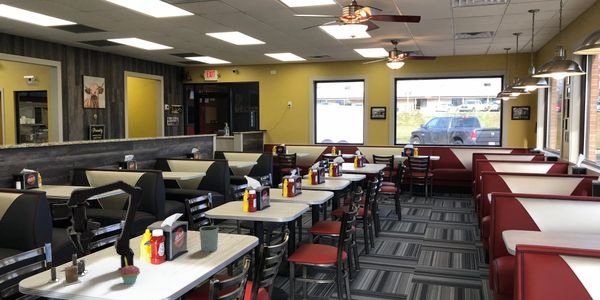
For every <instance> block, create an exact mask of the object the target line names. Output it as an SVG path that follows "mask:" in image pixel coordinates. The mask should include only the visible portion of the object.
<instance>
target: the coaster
mask: <svg viewBox="0 0 600 300" xmlns="http://www.w3.org/2000/svg"><path fill="white" fill-rule="evenodd" d="M62 283H63V284H64V285H65V286H72V285H76V284H79V283H82V281H81V279H79V278H78V281H76V282H72V283H67V282H66V280H63V281H62Z"/></svg>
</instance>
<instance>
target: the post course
mask: <svg viewBox="0 0 600 300" xmlns="http://www.w3.org/2000/svg"><path fill="white" fill-rule="evenodd" d="M71 256H72V257H71V260H72V263H71V264H72V265H71V264H70V266H76V267H77V270H78V278H80V277H85V276H86V274H88V270H86V264H85V263H86V262H85V259H84V258H82V259H80V260H79V261H78V260H77V258H78V257H77V253H73V254H71ZM59 281H60V279H59V278H57V267H55V266H53V267H51V268H50V279H49V280H48V283H50V284H53V283H57V282H59Z"/></svg>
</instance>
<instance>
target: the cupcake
mask: <svg viewBox="0 0 600 300" xmlns="http://www.w3.org/2000/svg"><path fill="white" fill-rule="evenodd" d="M125 264H126V266H125V267H124V268H122V269H121V270H119V274H118V276H119V277H121V278H122V281H123V283H124V284H125V285H132V283H133V284H135V283H136V282H137V279H138V276H139V275H140V273H141V270H140V268H139V266H136V265H132V266H128V265H127V260H126V258H125Z"/></svg>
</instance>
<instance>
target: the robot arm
mask: <svg viewBox="0 0 600 300" xmlns="http://www.w3.org/2000/svg"><path fill="white" fill-rule="evenodd" d="M117 190H118V191H119V190H121V191H122V192H124V193H126V194H128V207H127V212H126V215H125V218H124V222H123V226H122V230H121V233H120V234H119V236H115V242H114V244H113V247H114V249H115V253H116V254H117V255H118V256H120V267H118V270H119V271H120V270H121V269H122V268H124V267H125V266H126V264H125V258H126V260H127V265H128V266H132V265H134V261H135V260H134V256H135V253H134V251H133V248H131V247H130V244H131V242H130V241H131V232H132V231H133V226H134V222H135V219H136V216H137V215H136V214H137V211H138V207H139V206H140V204H141V203H142V201H143V198H144V196H145V192H144V190H143V189H142V188H141V187H139V186H133V185H131V184H129V183H127V182H125V181H124V180H122V179H118V180H115V181H112V182H109V183H108V182H107V183H104V184H100V185H97V186H93V187H81V188H75V189H73V190H72V191H71V193H70V197H69V199H68V200H67V202H66V203H54V204H52V211H53V212H52V218H53V221H55V220H63V219H65V220H66V219H68V217H70V216H71V219H70V222H71V223H72V226H68V227H67V228H66V234H67V236H68V237H69V239H70V241H71V242H72V243H73V245H74V247H75V248H76V250H80V248H81V250H82V253H83V254H87V252H88V247H89V243H90V241H91V240H93V239H94V238H95V232H94V231H99V230H100V226H101V223H100V222H96V221H95V219H93V218H89V219H88V218H87V212H86V211H87V210H86V207H90V206H91V205H90V203H89V202H87V200H88V199H91V198H93V197H95V196H99V195H103V194H107V193H110V192H111V193H112V192H113V191H114V192H115V191H117ZM93 230H94V231H93ZM134 266H135V265H134Z"/></svg>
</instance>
